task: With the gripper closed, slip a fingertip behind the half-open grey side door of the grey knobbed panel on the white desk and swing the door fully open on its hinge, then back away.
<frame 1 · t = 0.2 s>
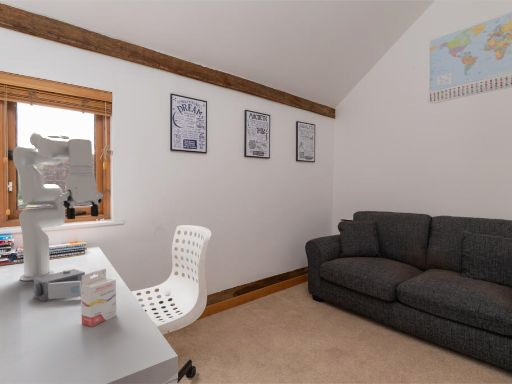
hand: (83, 217, 108), 30 cm above the table, tool pointing down, fingers open, 9 cm apart
side door: (62, 290, 105), point 4 cm above the table, hinge at 45.0°
grey knobbed panel: (60, 293, 113), on the table
ink cartridge box: (100, 320, 90), on the table
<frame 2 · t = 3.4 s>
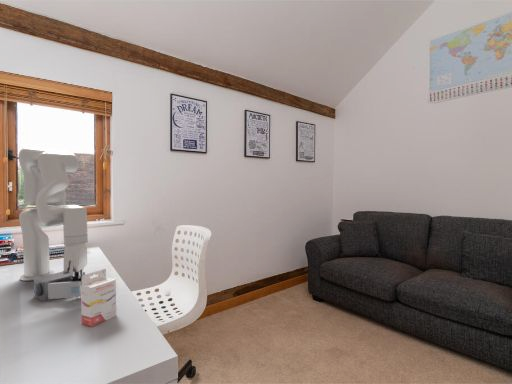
hand: (77, 288, 109), 3 cm above the table, tool pointing down, fingers closed
side door: (62, 290, 105), point 4 cm above the table, hinge at 46.2°, touching gripper
everything else where it was.
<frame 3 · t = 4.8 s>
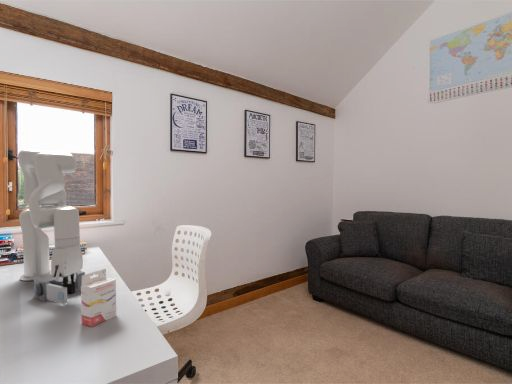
hand: (69, 293, 103), 3 cm above the table, tool pointing down, fingers closed
side door: (54, 293, 102), point 4 cm above the table, hinge at 82.5°, touching gripper
everything else where it was.
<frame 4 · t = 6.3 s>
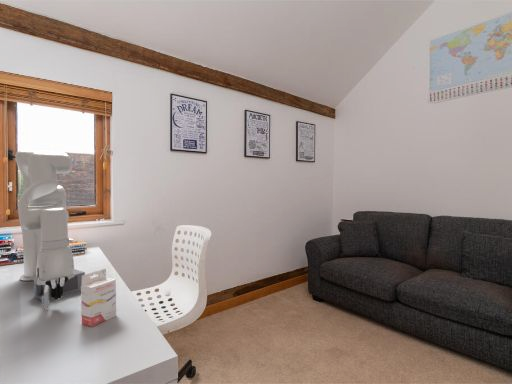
hand: (57, 298, 99), 3 cm above the table, tool pointing down, fingers closed
side door: (45, 295, 100), point 4 cm above the table, hinge at 112.1°
everything else where it was.
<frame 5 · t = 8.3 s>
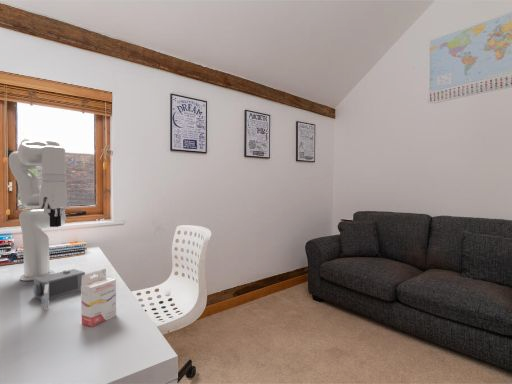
hand: (55, 226, 112), 26 cm above the table, tool pointing down, fingers closed
nothing on the table moved.
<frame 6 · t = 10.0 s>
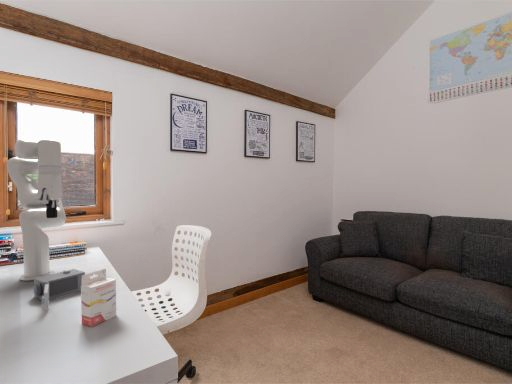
hand: (52, 217, 115), 29 cm above the table, tool pointing down, fingers closed
nothing on the table moved.
at the end: side door at +112° (first picture: +45°); side door touching nothing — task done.
